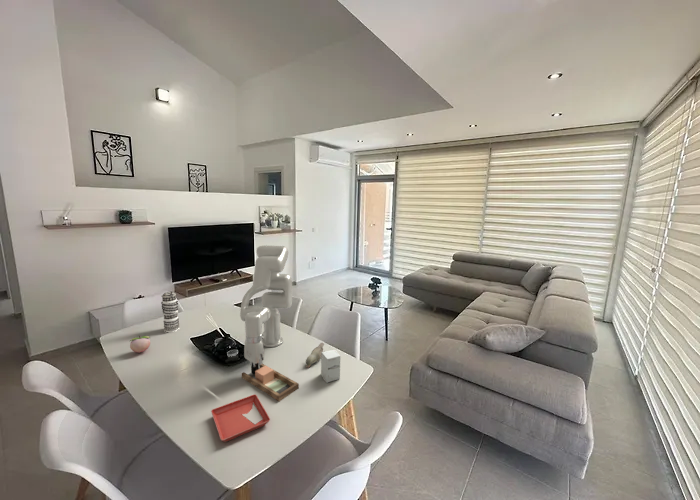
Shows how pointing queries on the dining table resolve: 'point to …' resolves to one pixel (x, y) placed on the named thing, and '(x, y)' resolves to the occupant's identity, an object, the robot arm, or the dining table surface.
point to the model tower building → (170, 312)
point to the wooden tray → (274, 385)
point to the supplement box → (330, 365)
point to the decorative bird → (314, 355)
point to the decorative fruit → (140, 344)
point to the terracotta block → (264, 375)
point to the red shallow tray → (238, 418)
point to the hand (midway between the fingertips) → (255, 372)
